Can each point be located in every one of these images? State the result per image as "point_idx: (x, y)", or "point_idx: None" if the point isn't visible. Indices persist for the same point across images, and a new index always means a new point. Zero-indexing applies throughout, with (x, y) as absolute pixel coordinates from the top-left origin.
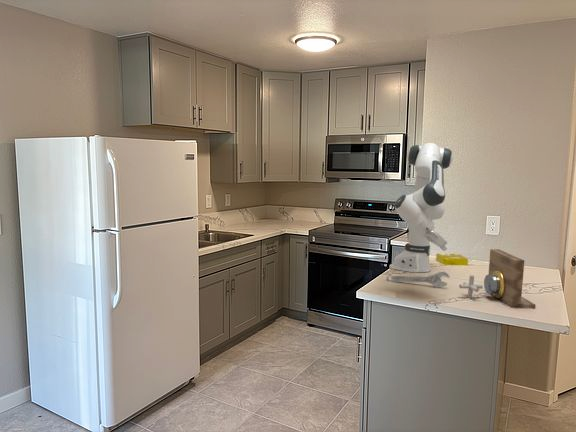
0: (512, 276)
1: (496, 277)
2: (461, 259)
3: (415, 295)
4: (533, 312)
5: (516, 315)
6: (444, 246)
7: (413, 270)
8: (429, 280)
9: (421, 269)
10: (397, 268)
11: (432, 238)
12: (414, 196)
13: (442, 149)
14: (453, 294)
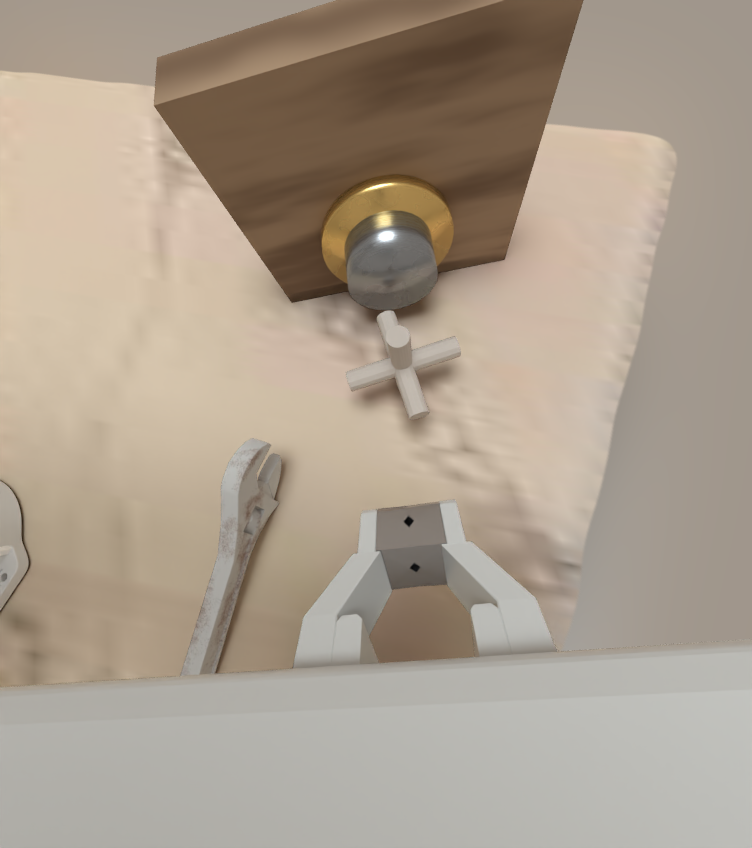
0: (536, 130)
1: (407, 222)
2: None
3: (439, 644)
4: (543, 198)
5: (610, 257)
6: (465, 543)
7: (10, 574)
8: (248, 541)
9: (4, 531)
10: None
11: None
12: None
13: None
14: (372, 445)
